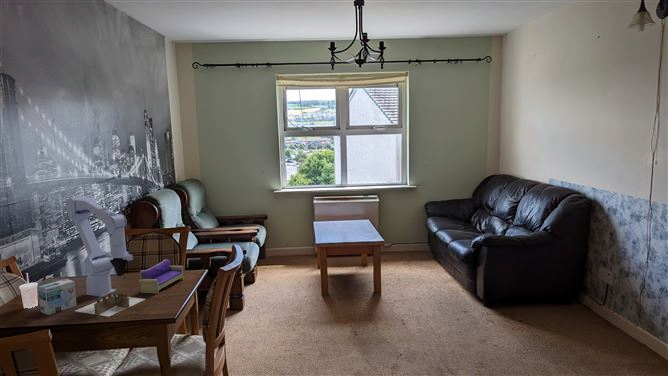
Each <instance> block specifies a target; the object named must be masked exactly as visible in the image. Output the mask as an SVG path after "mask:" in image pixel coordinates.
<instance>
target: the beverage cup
mask: <svg viewBox="0 0 668 376" xmlns="http://www.w3.org/2000/svg"><path fill="white" fill-rule="evenodd" d="M26 281H27V282H26V283H24V284H20V285H19V286H18V288H19V290H20V295H21V299H22V305H23V309H25V308H28V309H33V308H36V307H37V306H39V304H38V303H39V302H38V297H39V296H38V286H39V285H38V284H39V283H38V282H30V280H29V273H28V272H26ZM35 306H36V307H35ZM32 307H33V308H32Z"/></svg>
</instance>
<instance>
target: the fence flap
mask: <svg viewBox="0 0 668 376" xmlns="http://www.w3.org/2000/svg"><path fill="white" fill-rule="evenodd" d="M112 295H113V296H112ZM101 297H102V299H103V300H102V299H100V298H97V299H96V302H97V303H95V302H94V303H95V304H94V309H95V314H97V316H99V315H98V314H100V313H102V312H104V311H106V310H108V309H110V308H112V307H114V306H116V305H117V300H116V297H117V292H112V293H109V294H107V297H108V298H107V297H106V295H104V296H101ZM100 300H102V301H100ZM95 314H94V315H95Z"/></svg>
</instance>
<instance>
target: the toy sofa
mask: <svg viewBox="0 0 668 376" xmlns="http://www.w3.org/2000/svg"><path fill="white" fill-rule="evenodd" d="M184 267H185V266H184V265H171V261H170V260H169V259H167V258H166V259H163V261H161V262H159V263H158V264H155V265H153V266H152V267H150V268H148V269H142V270H140V271H139V274H140V279H138V283H139V284H140V292H141V293H144V294H145V293H146V294H156V295H159V294H160V290H162V289H163V288H166V287H167V286H169V285H170V284H173V283H174V282H176V281H183V280H185V279H184V278H185V275H184V269H185V268H184Z"/></svg>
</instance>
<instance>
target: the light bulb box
mask: <svg viewBox="0 0 668 376" xmlns="http://www.w3.org/2000/svg"><path fill="white" fill-rule="evenodd" d="M37 290H38V295H39V296H38V297H39V306H40V313H42V314H45V315H46V316H47V315H48V316H50V315H53V314H56V313H58V312H62V311H65V310H68V309H71V308H75V307H77V298H76V284H75V281H74V280H71V279H68V278H64V279H60V280H57V281H52V282H50V283H46V284H41V285H38V286H37Z"/></svg>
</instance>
